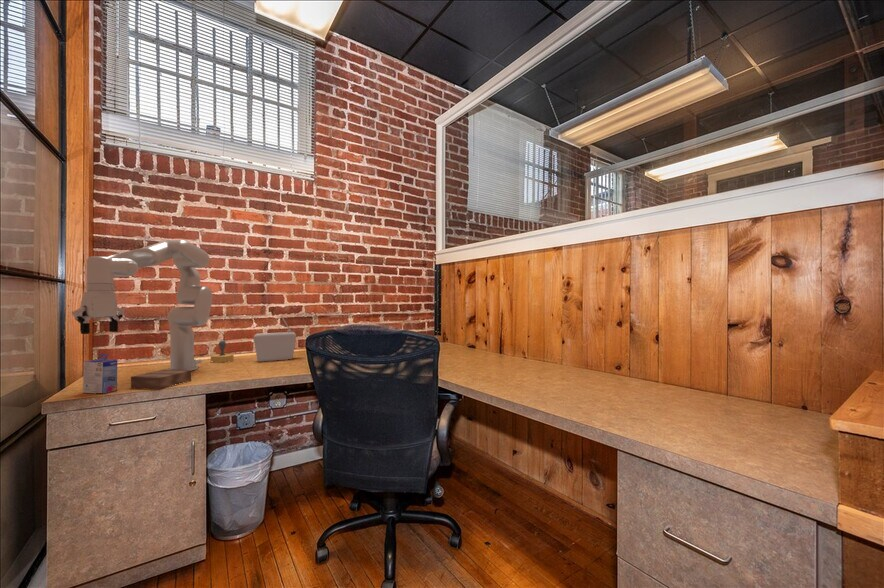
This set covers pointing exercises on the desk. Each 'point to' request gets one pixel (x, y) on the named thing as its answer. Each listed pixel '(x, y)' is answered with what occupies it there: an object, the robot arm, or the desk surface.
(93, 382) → the ink cartridge box
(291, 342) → the rounded grey case
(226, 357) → the rubber stamp
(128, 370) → the desk surface
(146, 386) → the walnut box
